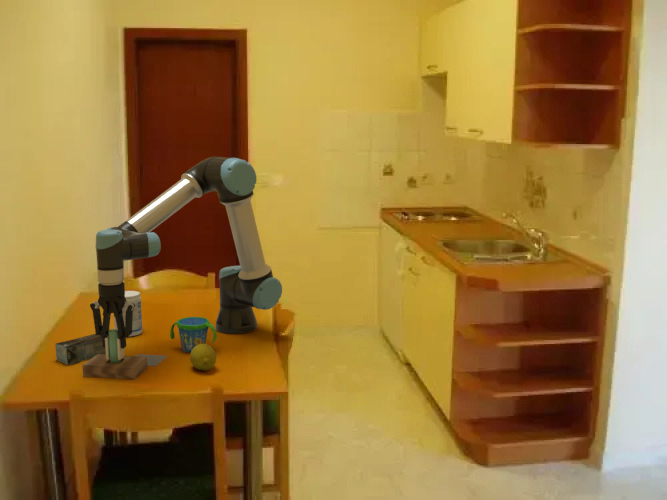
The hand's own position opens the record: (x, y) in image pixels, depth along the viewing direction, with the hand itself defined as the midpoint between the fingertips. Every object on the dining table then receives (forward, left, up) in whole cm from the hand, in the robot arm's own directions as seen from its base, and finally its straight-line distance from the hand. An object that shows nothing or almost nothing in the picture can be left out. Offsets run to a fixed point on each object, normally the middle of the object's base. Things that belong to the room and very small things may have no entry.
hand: (115, 357), depth 225 cm
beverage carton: (+16, -14, -5) cm, 22 cm away
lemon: (-25, -8, -5) cm, 27 cm away
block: (0, 0, -5) cm, 5 cm away
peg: (0, 0, -4) cm, 4 cm away
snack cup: (-16, -25, -5) cm, 30 cm away
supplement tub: (+13, -39, -5) cm, 41 cm away
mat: (-5, -12, -5) cm, 14 cm away
